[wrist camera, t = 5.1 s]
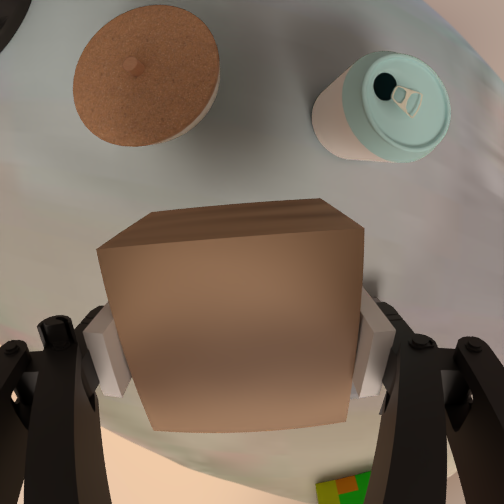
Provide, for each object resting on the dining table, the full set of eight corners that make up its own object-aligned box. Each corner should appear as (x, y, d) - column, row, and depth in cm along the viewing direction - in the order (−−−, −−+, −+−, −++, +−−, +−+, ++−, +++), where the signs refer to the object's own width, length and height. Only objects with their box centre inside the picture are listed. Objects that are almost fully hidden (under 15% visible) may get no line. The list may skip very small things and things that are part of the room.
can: (318, 165, 27) (365, 171, 15) (302, 88, 25) (337, 43, 13) (390, 155, 26) (467, 159, 15) (375, 82, 24) (444, 46, 13)
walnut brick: (151, 212, 15) (96, 249, 9) (320, 198, 14) (364, 228, 9) (178, 352, 17) (153, 430, 11) (320, 343, 17) (345, 421, 11)
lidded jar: (130, 36, 23) (86, -2, 14) (240, 46, 23) (234, -1, 14) (103, 140, 26) (46, 138, 17) (212, 158, 26) (192, 158, 17)
